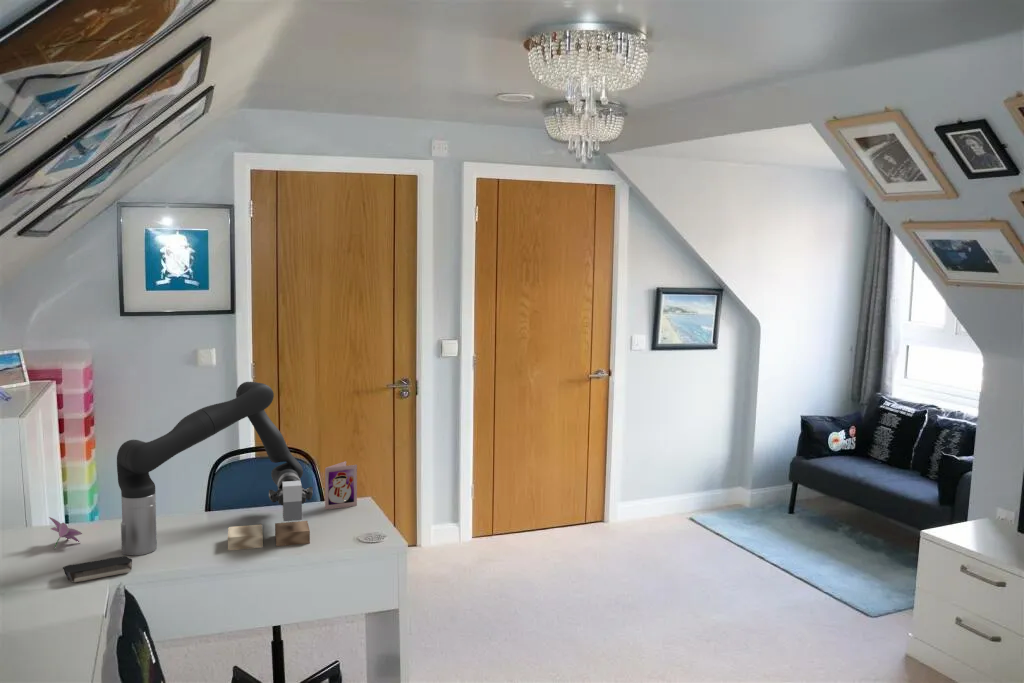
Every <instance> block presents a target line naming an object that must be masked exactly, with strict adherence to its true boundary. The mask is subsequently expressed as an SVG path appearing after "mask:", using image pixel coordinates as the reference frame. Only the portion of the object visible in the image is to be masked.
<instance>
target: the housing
mask: <svg viewBox="0 0 1024 683" xmlns="http://www.w3.org/2000/svg"><path fill="white" fill-rule="evenodd" d="M301 481H302V480H300V481H286V482H282V489H283V505H282V519H283V522H294V521H303V504H302V488H303V485H302V482H301Z"/></svg>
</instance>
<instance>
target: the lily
mask: <svg viewBox="0 0 1024 683" xmlns="http://www.w3.org/2000/svg"><path fill="white" fill-rule="evenodd" d="M48 519H49V520H51V522H53V524H54V525H55V527H54V526H53V527H50V530H51V531H55V532H57V533H58V536H59V537H58V539H57V540H56V542H55V545H54V548H55V547H56V548H57V545H58V543H59V541H60V539H61V538H65V539H66V538H67V539H70V540H73V541H75V542H77V541H78V542H80V540H79V539H78V538H77V536H79V535H83V532H81V531H79V530H77V529H76V528H71V527H69V526H68V525H67V524H66V523H65V522H60V521H58V520H57V519H55V518H53V517H50V516H48ZM67 539H66V540H67ZM78 542H77V543H78Z"/></svg>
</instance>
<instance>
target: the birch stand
mask: <svg viewBox="0 0 1024 683" xmlns="http://www.w3.org/2000/svg"><path fill="white" fill-rule="evenodd" d="M227 531H228V532H227V551H237V550H238V551H239V550H247V549H249V550H250V549H259V548H264V546H263V545H264V544H263V542H264V540H263V538H264V536H263V534H264V533H263V524H253V525H252V524H251V525H249V524H248V525H239V526H238V525H237V526H229V527H228V529H227Z"/></svg>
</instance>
